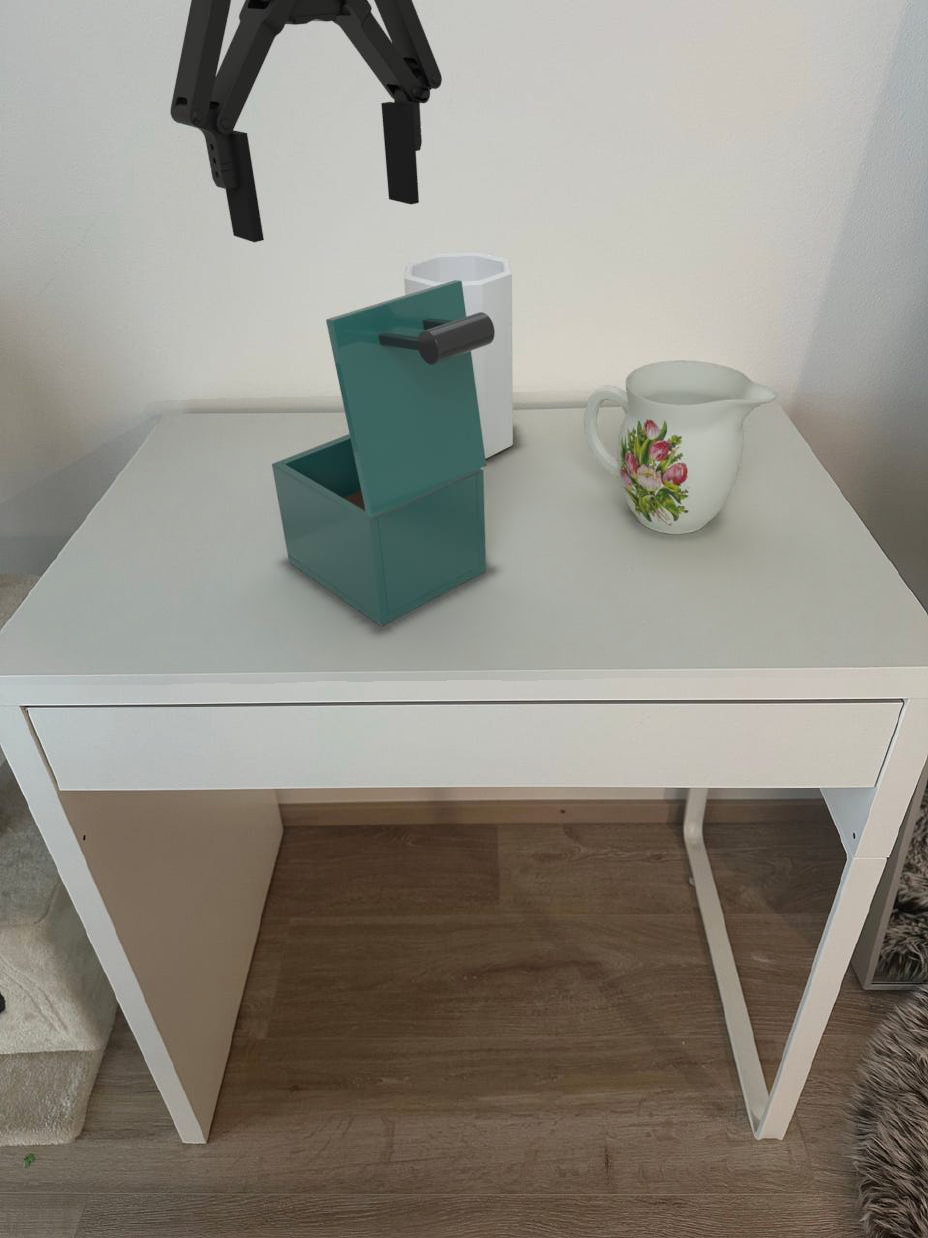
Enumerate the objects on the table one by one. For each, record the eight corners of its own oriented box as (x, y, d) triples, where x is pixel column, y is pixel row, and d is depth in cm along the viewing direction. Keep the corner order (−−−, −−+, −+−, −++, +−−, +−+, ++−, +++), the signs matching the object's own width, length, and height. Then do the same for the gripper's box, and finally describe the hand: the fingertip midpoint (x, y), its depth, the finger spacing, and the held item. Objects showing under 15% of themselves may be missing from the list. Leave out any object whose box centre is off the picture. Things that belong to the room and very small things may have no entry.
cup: (489, 411, 109) (485, 245, 98) (532, 449, 100) (534, 272, 89) (399, 430, 105) (385, 261, 94) (436, 471, 97) (425, 291, 86)
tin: (288, 562, 84) (271, 463, 78) (390, 515, 90) (381, 420, 84) (381, 626, 76) (369, 521, 70) (486, 570, 82) (483, 469, 76)
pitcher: (612, 465, 97) (620, 334, 88) (778, 516, 87) (804, 375, 79) (551, 508, 90) (554, 371, 82) (723, 569, 80) (746, 420, 72)
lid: (325, 319, 63) (392, 327, 57) (454, 279, 69) (526, 284, 64) (365, 515, 70) (428, 539, 65) (480, 463, 76) (546, 481, 71)
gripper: (113, -178, 46) (201, 266, 58) (485, -168, 59) (492, 194, 71) (53, -164, 51) (146, 245, 63) (410, -157, 64) (429, 181, 76)
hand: (330, 219), depth 67 cm, fingers open, 13 cm apart
